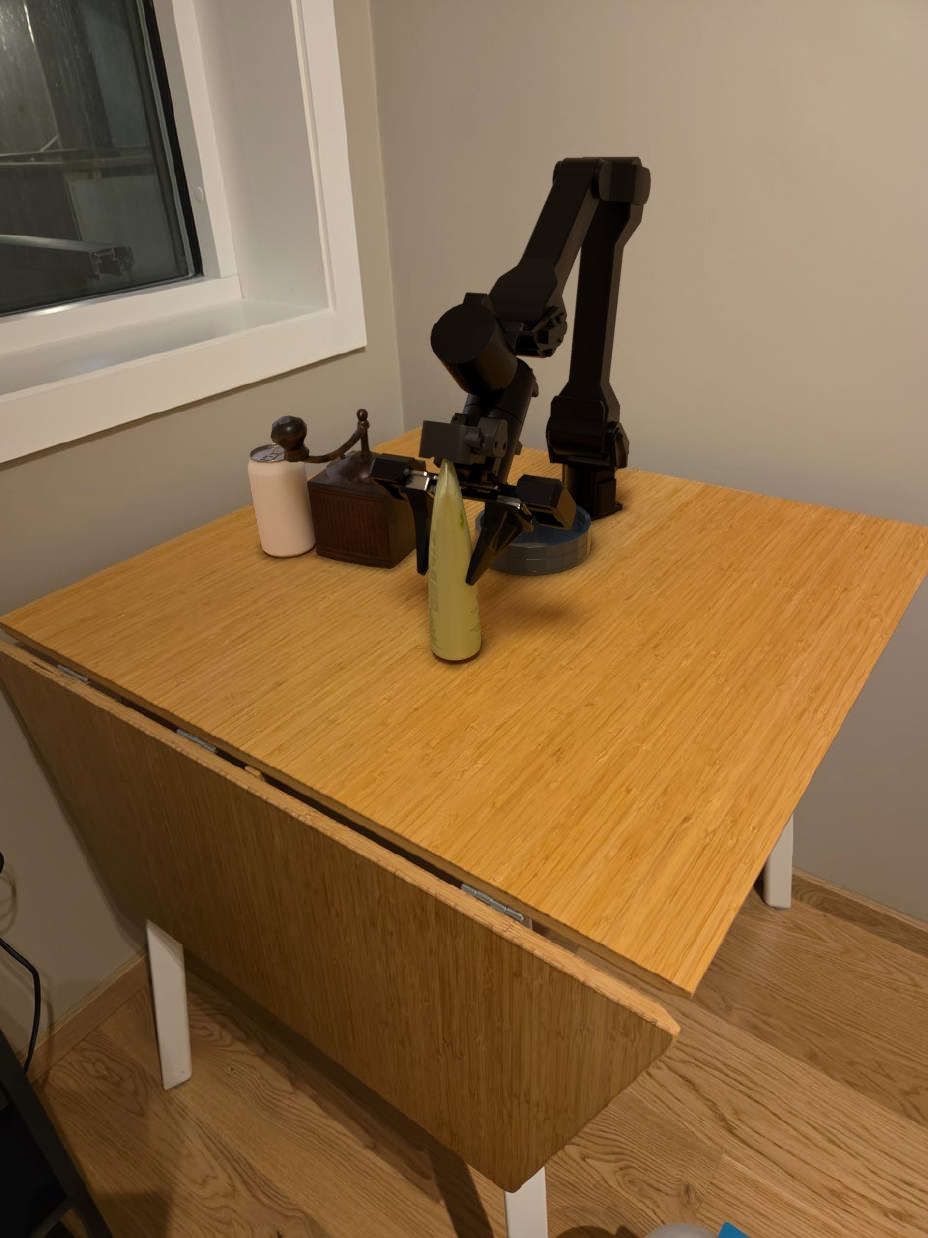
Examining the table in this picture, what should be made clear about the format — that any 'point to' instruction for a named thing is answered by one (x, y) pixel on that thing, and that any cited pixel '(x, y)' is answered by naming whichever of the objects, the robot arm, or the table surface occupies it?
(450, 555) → the tube
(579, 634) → the table surface
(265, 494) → the can
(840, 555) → the table surface
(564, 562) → the basin
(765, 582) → the table surface
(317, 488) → the manual coffee grinder
